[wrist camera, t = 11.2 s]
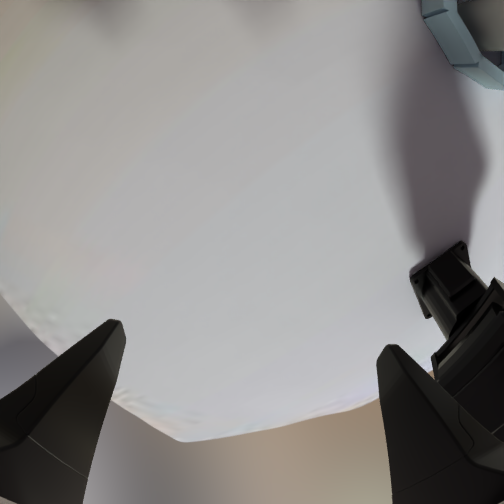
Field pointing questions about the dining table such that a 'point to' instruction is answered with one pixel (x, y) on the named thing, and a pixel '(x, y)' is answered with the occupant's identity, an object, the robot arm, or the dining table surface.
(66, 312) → the dining table surface
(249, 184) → the dining table surface
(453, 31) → the collar
